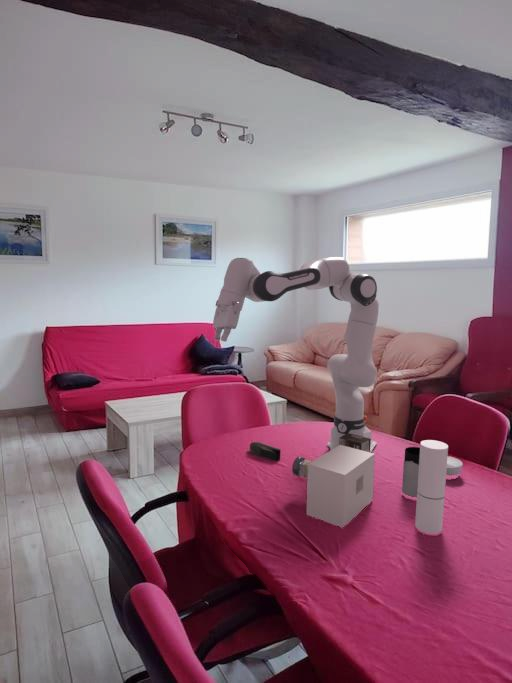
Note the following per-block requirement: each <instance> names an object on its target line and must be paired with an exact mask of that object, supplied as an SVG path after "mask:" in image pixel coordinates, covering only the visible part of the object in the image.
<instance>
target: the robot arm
mask: <svg viewBox="0 0 512 683" xmlns="http://www.w3.org/2000/svg"><path fill="white" fill-rule="evenodd" d="M302 288H305V289H306V290H309V291H310V290H314V291H315V290H320V289H321V290H322V289H325V288H328V290H329V293H330V295H331V296H332V297H333V298H334V299H335V300H337V301H341V302H343V301H344V302H348V303H349V305H350V312H349V314H348V315H349V316H348V320H347V323H346V329H345V333H344V342H345V344H346V348H347V354H346V353H338V354H334V355H332V356H331V357H330V358H329V359H328V361H327V364H326V367H327V372H328V373H329V375H330V376H331V380H332V384H333V388H334V394H335V415H334V418H333V426H332V427H331V429H330V436H329V437H330V438H329V441H328V442H327V443H326V445H327V447H328V448H329V449H330V450H332V449H334V448H335V447H337V446H339V437H342V436H343V435H345V434H347V433H350V434H354V435H358V436H362V437H366V438H369V439H371V442H370V453H371V451H372V450H373V448H374V447H375V445H376V444H377V445H378V442H376V441H375V440H373V439H372V431H371V430H370V429H369V428H368V427H367V426H366V422H367V421H368V416H367V415H364V407H365V400H364V396H363V394H362V393H361V391H360V388H369V387H372V386H373V385H374V384H375V382H376V381H377V379H378V369H377V367H376V366H375V363H374V359H373V343H374V342H373V341H374V337H375V331H376V329H377V328H376V327H377V323H378V318H379V301H378V299H377V293H378V284H377V281H376V279H375V277H373V276H371V275H370V274H367V273H357V272H351V270H350V264H349V263H348V261H347V260H346V259H345V258H343V257H342V256H328V257H322V258H316V259H312V260H310V261H308V262H306V263H304V264H302V265H301V267H300V269H296V270H293V271H288V272H285V273H284V272H283V273H282V272H277V271H274V270H272V271H271V270H268V271H264V272H261V271H260V270H259V269H258V268H257V267H256V265H255V264H254V262H253V260H251V259H250V258H246V257H237V258H234V259H231V260H230V262H229V264H228V266H227V268H226V271H225V275H224V279H223V285H222V288H221V289H220V292H219V296H218V299H217V300H216V301H215V307H216V309H215V312H214V316H213V321H212V328H215V330H214V334H215V335H214V339H213V340H214V341H216V342H220V341H222V342H223V343H224V342H225V343H226V342H227V341H228V338H229V336H230V334H231V333H232V332H231V331H232V330H236V329H237V327H238V324H239V319H240V314H241V311H242V310H243V306H244V303H245V299H246V298H247V299H248V300H250V301H252V302H254V303H260V302H261V303H262V302H274V301H277V300H279V299H280V298H281V297H283V296H284V295H285V294H286V293H288V292H292V291H294V290H298V289H302ZM375 448H376V447H375ZM330 450H329V451H330ZM373 451H374V450H373ZM373 451H372V452H373Z"/></svg>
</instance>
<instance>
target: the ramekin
mask: <svg viewBox="0 0 512 683" xmlns="http://www.w3.org/2000/svg"><path fill="white" fill-rule="evenodd" d="M463 464H464V463H463V461H461V460H460V459H458V458H456V457H453V456H447V470H446V475H449V476H450V475H451V476H452V475H457V474H459V473H460V474H462V473H461V472H462V468H463V466H464V465H463Z"/></svg>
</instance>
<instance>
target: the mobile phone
mask: <svg viewBox="0 0 512 683" xmlns="http://www.w3.org/2000/svg"><path fill="white" fill-rule="evenodd" d="M245 452H246V453H248V454H251V455H255V456H256V457H257V456H258V457H260V458H264V459H267V460H270V461H274V462H278V461H280V460H281V448H277V447H274V446H272V445H268V444H265V443H263V442H259V441H252V442H251V443H250V444H249V450H246V451H245Z"/></svg>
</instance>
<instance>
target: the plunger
mask: <svg viewBox="0 0 512 683" xmlns="http://www.w3.org/2000/svg"><path fill="white" fill-rule="evenodd" d="M312 461H313V460H308V459H306V458H305V457H303V456H296V458H294V461H293V462H292V467H291V470H292V471H291V472H292V473H293V475H294V476H297V477H303V478H307V479H308V464H309V463H310V462H312Z"/></svg>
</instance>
